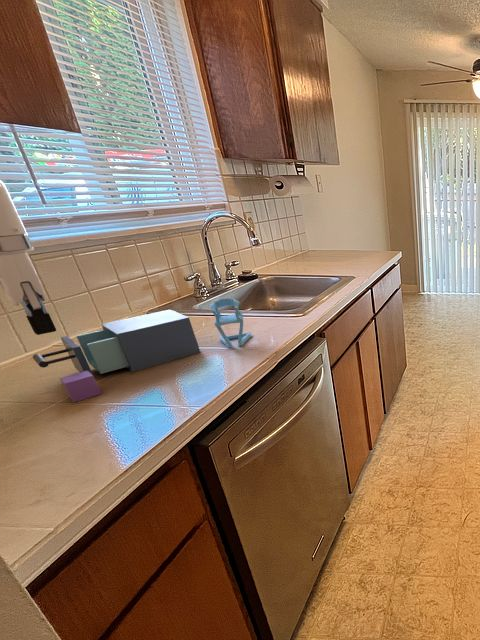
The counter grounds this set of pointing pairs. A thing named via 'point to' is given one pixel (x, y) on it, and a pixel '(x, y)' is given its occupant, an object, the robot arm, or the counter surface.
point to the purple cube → (80, 386)
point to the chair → (229, 321)
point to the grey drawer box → (154, 338)
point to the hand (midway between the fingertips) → (45, 332)
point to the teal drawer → (90, 352)
